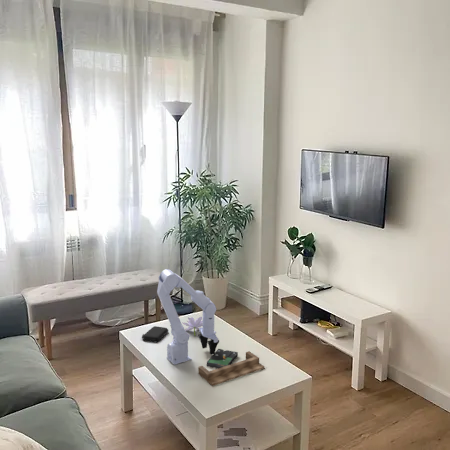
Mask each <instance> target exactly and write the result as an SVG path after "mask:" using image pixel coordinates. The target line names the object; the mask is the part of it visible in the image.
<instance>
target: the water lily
mask: <svg viewBox="0 0 450 450" xmlns="http://www.w3.org/2000/svg"><path fill="white" fill-rule="evenodd" d="M181 324H182V325H183V326H184V325H185V326H187V328H184V329H185V331H186V332H188V331H191V330H193V336H194V337H196V330H197V331H199V328H202V327H203V316H199V317H198V318H196V319H194V317H193V316H190V317H187V320H186V322H182V321H181Z"/></svg>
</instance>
